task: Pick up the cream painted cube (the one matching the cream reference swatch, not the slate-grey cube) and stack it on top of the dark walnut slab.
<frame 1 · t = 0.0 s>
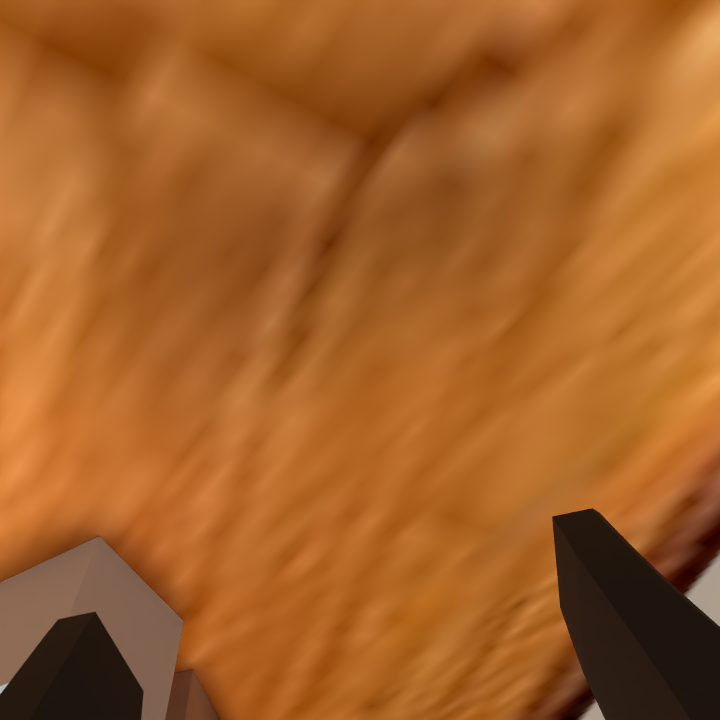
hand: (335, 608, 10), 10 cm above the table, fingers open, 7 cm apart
slate cube: (87, 604, 24), on the table
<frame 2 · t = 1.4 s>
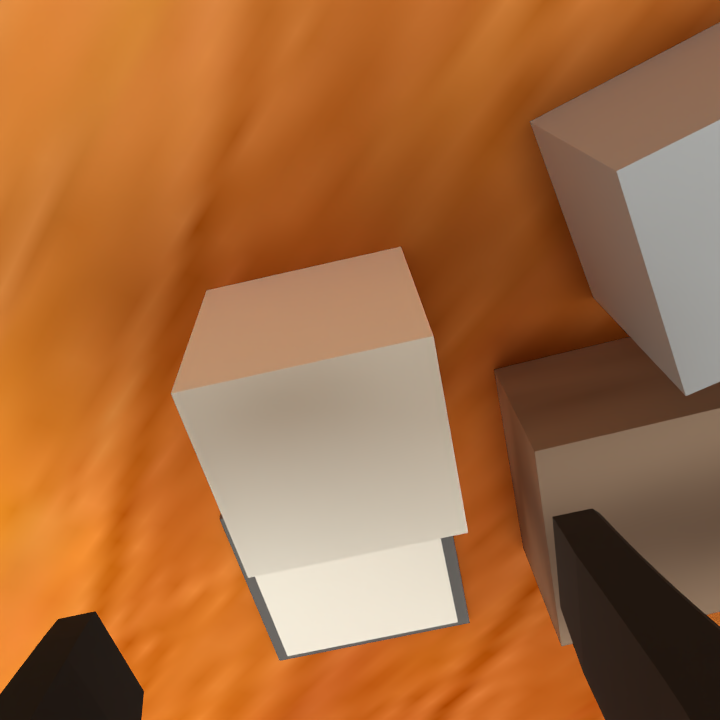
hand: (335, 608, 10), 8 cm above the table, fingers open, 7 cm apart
cream cube: (326, 352, 18), on the table
slate cube: (659, 166, 16), on the table
walnut slab: (621, 434, 20), on the table
reference swatch: (353, 569, 22), on the table
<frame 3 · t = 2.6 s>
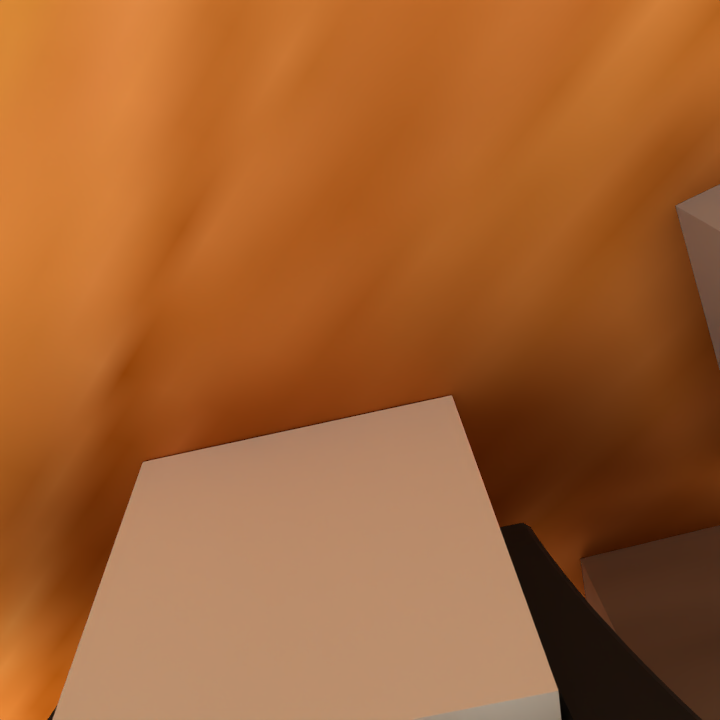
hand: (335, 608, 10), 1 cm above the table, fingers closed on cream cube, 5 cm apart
cream cube: (331, 542, 12), on the table, touching gripper
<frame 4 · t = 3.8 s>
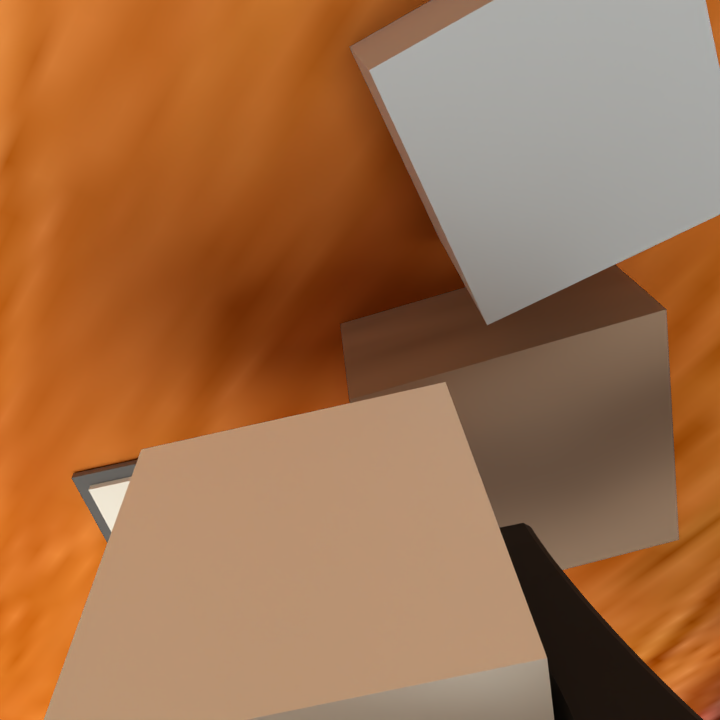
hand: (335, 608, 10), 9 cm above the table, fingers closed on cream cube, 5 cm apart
cream cube: (328, 529, 12), point 7 cm above the table, touching gripper
slate cube: (494, 97, 15), on the table
walnut slab: (488, 388, 19), on the table
reference swatch: (221, 532, 21), on the table
when the fingers open (6 cm above the table, at t = 5.2 s): cream cube drops 1 cm, point 4 cm above the table.
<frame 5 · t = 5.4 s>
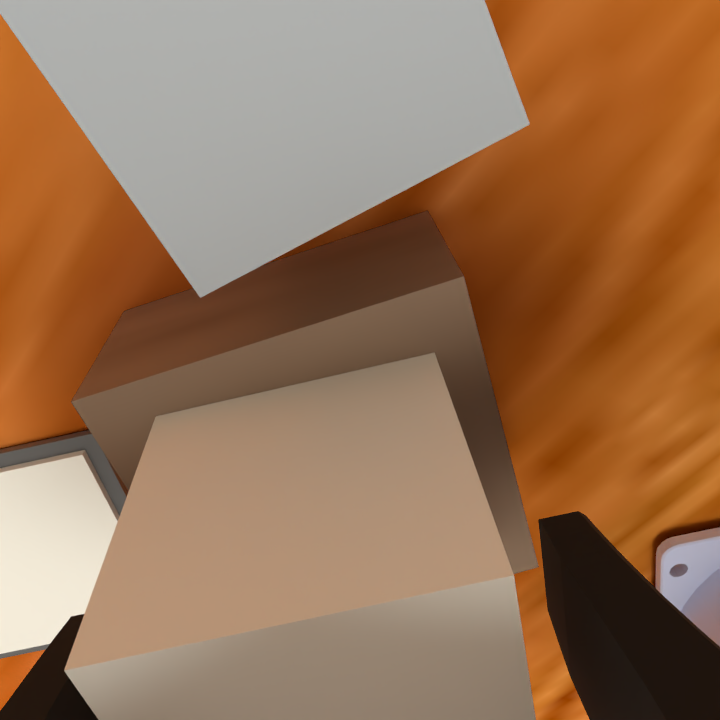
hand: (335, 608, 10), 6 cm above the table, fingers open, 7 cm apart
cream cube: (328, 492, 13), point 4 cm above the table
slate cube: (277, 18, 12), on the table
walnut slab: (325, 385, 16), on the table
reference swatch: (25, 555, 18), on the table
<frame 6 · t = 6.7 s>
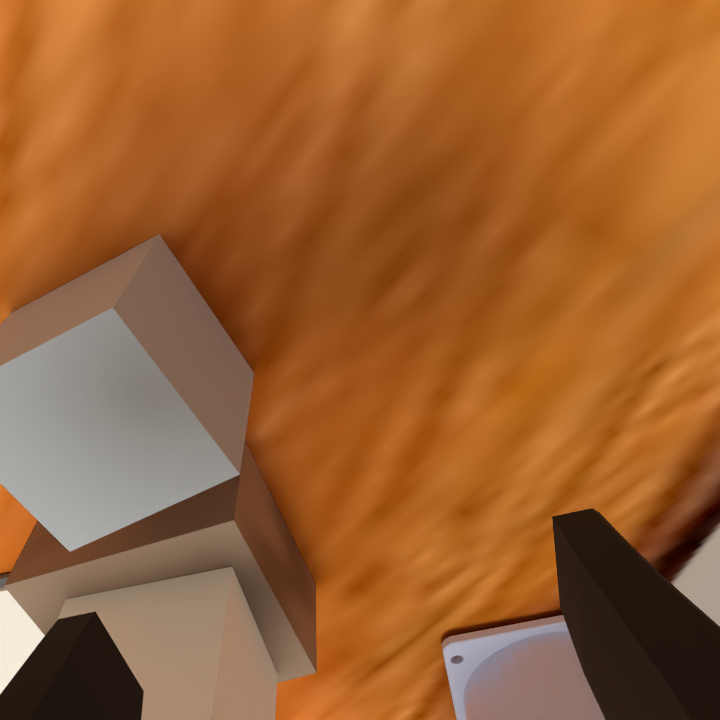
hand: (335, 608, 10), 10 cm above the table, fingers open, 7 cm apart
cream cube: (177, 638, 20), point 4 cm above the table, touching walnut slab
slate cube: (137, 343, 20), on the table
walnut slab: (191, 538, 24), on the table, touching cream cube
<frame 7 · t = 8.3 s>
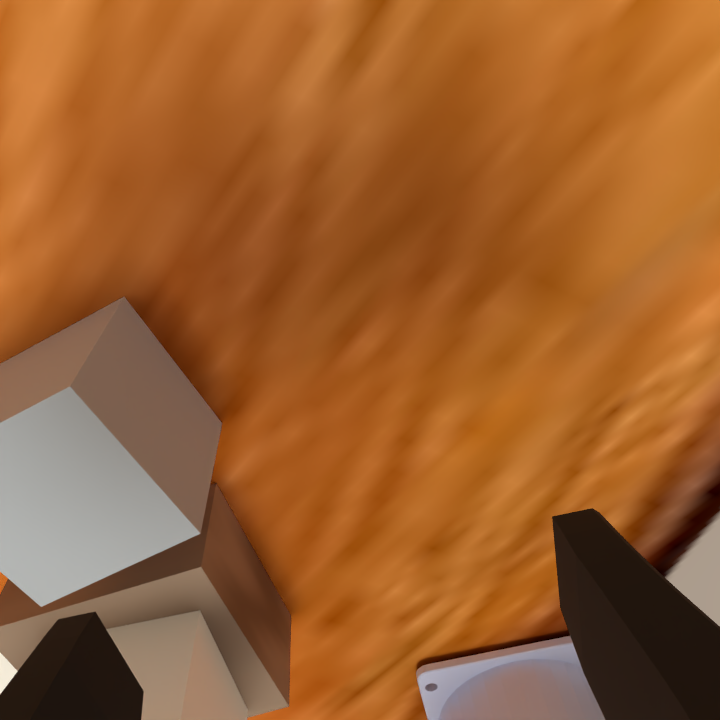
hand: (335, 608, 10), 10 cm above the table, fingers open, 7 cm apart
cream cube: (149, 677, 21), point 4 cm above the table, touching walnut slab
slate cube: (108, 397, 20), on the table
walnut slab: (168, 574, 24), on the table, touching cream cube
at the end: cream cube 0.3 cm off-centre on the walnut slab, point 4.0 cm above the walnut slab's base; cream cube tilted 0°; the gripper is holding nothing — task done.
